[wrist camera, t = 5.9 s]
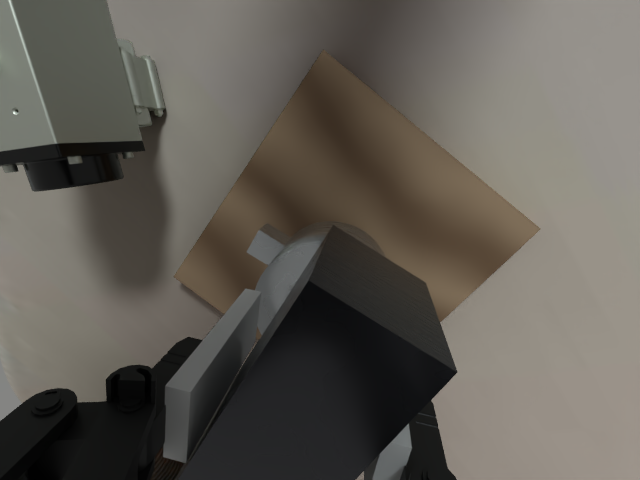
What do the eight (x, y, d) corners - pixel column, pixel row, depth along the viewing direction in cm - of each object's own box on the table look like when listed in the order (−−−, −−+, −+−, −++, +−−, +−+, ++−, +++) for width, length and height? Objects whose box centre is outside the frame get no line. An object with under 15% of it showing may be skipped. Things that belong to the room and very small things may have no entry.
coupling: (228, 292, 23) (68, 468, 11) (301, 162, 20) (189, 207, 8) (357, 372, 23) (340, 627, 11) (451, 256, 20) (569, 441, 8)
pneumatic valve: (149, -10, 23) (-67, -148, 12) (189, 167, 26) (49, 192, 15) (78, 6, 24) (-185, -108, 13) (125, 174, 27) (-51, 204, 16)
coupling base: (326, 54, 23) (314, 33, 18) (531, 223, 24) (569, 245, 19) (183, 269, 29) (146, 296, 24) (350, 394, 30) (345, 442, 26)
